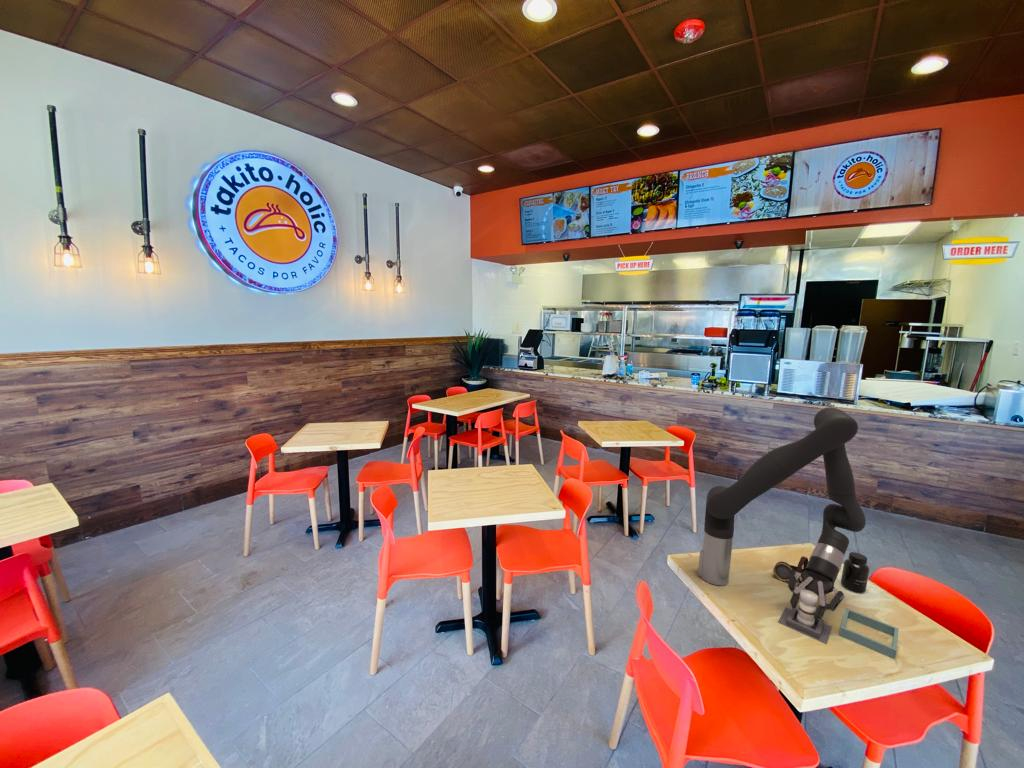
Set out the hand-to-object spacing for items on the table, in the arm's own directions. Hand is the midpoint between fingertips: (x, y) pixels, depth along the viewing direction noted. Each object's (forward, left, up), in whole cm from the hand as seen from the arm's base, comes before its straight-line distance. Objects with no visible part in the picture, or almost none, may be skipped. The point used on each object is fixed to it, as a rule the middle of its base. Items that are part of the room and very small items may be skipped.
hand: (804, 612), depth 123 cm
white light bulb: (0, +2, -5) cm, 5 cm away
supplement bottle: (+8, +38, -6) cm, 39 cm away
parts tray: (+14, +10, -6) cm, 18 cm away
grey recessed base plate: (0, +2, -6) cm, 6 cm away
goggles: (-6, +29, -6) cm, 30 cm away
